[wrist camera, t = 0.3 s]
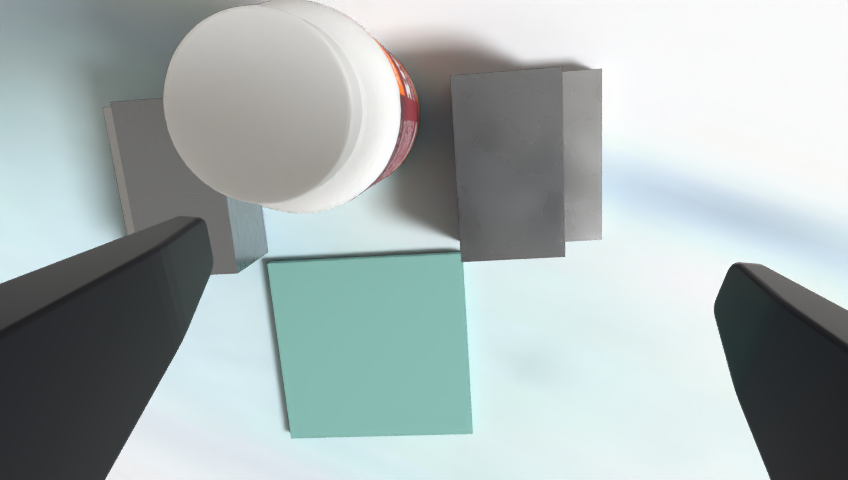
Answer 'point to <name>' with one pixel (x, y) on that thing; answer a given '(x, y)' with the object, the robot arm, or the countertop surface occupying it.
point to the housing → (474, 159)
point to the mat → (373, 345)
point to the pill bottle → (288, 106)
